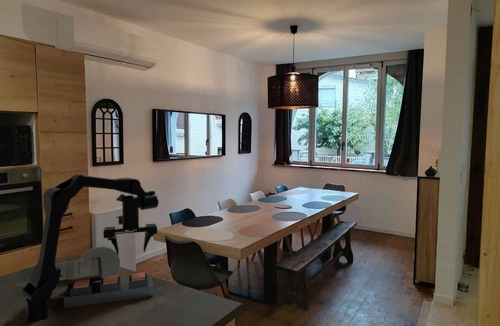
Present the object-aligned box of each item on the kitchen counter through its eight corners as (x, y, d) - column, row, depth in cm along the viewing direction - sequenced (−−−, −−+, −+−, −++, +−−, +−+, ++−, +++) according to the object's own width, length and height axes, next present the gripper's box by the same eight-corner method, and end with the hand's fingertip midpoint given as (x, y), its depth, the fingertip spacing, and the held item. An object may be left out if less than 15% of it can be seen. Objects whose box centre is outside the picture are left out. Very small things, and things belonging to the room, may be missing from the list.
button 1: (145, 285, 123) (145, 276, 123) (131, 286, 121) (131, 278, 121) (144, 280, 127) (144, 272, 127) (131, 281, 126) (131, 273, 125)
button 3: (88, 292, 117) (88, 283, 117) (73, 294, 115) (73, 285, 115) (89, 287, 121) (89, 278, 121) (75, 288, 119) (75, 280, 119)
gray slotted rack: (153, 295, 123) (153, 279, 123) (64, 308, 113) (63, 290, 113) (151, 284, 132) (151, 269, 132) (68, 295, 123) (67, 278, 122)
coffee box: (52, 271, 125) (102, 263, 131) (52, 289, 122) (102, 281, 128) (48, 263, 118) (100, 256, 123) (47, 283, 115) (101, 274, 120)
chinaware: (131, 267, 139) (129, 260, 133) (102, 300, 131) (99, 294, 125) (102, 246, 142) (98, 239, 136) (72, 277, 134) (67, 271, 127)
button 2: (117, 288, 120) (117, 279, 120) (103, 290, 118) (103, 281, 118) (117, 283, 124) (117, 275, 124) (104, 285, 122) (103, 276, 122)
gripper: (154, 206, 141) (154, 244, 142) (104, 209, 135) (105, 249, 136) (157, 211, 131) (157, 253, 132) (102, 215, 124) (103, 258, 125)
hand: (131, 253), depth 132 cm, fingers open, 9 cm apart
